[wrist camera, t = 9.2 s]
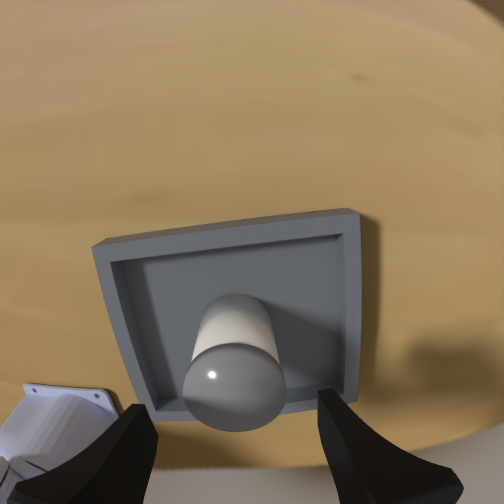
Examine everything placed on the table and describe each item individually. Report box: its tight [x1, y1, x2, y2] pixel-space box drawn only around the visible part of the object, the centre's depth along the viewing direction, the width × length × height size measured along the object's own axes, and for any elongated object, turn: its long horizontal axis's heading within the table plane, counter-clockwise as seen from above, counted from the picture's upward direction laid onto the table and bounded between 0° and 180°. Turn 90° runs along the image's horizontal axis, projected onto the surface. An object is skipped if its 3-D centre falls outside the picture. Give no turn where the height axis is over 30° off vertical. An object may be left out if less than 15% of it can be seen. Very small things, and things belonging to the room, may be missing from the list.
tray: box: [92, 208, 362, 421], centre depth 20 cm, size 15×13×2 cm
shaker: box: [183, 293, 287, 432], centre depth 17 cm, size 5×5×7 cm
